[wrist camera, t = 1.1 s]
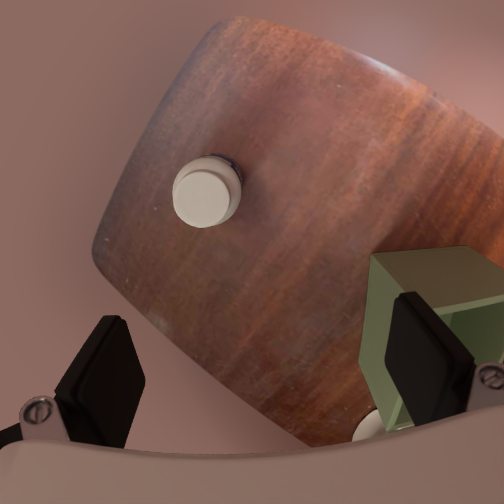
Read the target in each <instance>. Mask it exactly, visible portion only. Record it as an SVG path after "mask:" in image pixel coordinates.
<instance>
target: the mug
mask: <svg viewBox="0 0 504 504" xmlns="http://www.w3.org/2000/svg"><path fill="white" fill-rule="evenodd" d="M413 425H414V424H413ZM413 425H409V426H405V427H401V428H397V429H393V430H389V431H386V430H385V427H384V425H383V422H382V419H381V417H380V414H379V412H378V409H376V410H374V411H372V412H371V413H370V414H368V415H367V416H366V417H365V418H364V419H363V420H362V421H361V423H360V424H359V425H358V427H357V429H356V431H355V433H354V435H353V439H352V442H353V441H358V440H363V439H368V438H373V437H377V436H382V435H386V434H388V432H390V431H394V430H398V429H402V428H406V427H410V426H413Z"/></svg>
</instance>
